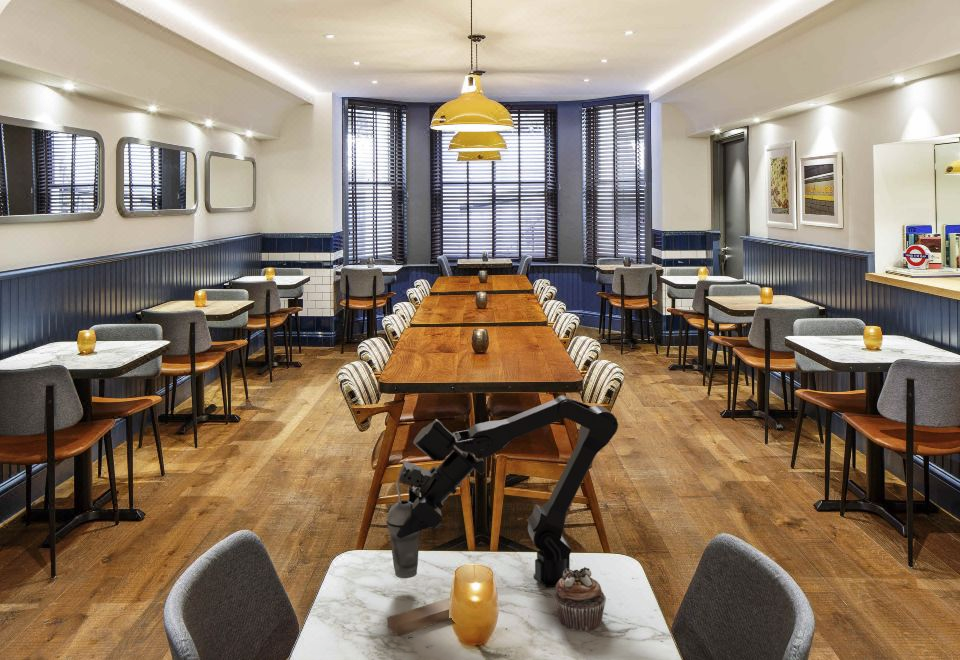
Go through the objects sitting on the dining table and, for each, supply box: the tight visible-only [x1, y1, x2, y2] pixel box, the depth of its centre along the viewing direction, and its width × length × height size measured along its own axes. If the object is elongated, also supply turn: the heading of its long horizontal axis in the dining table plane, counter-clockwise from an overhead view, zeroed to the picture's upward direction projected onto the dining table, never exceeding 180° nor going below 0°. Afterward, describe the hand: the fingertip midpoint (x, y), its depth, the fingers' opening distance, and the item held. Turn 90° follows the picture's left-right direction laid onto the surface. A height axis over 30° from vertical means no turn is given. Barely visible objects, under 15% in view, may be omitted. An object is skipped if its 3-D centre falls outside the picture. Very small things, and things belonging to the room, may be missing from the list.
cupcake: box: [554, 566, 607, 632], centre depth 159 cm, size 10×10×10 cm
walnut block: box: [386, 597, 451, 636], centre depth 161 cm, size 16×4×2 cm, turn 123°
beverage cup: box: [385, 479, 420, 579], centre depth 172 cm, size 7×7×20 cm
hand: (397, 529), depth 172 cm, fingers closed on beverage cup, 7 cm apart
